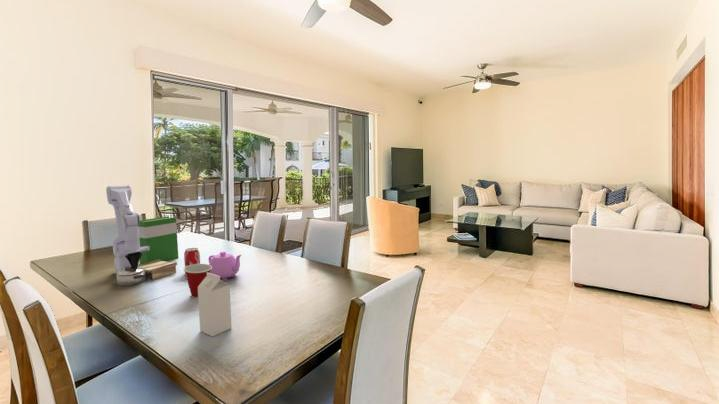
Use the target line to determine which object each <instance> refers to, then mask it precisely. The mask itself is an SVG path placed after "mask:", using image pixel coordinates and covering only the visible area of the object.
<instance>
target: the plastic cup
mask: <svg viewBox="0 0 719 404" xmlns="http://www.w3.org/2000/svg"><path fill="white" fill-rule="evenodd" d="M211 269H212V266H211V265H209V263H208V264H207V263H200V264H193V265H189V266H186V267H185V266H184V267H183V272H184V274H185V277H186V281H187V284H188V288H189V291H190V295H191V296H192V297H193V298H198V286H199V285H200V284H201V282H202V281H203V280H204V279H205V277H206V276H207V272H208V273H210V270H211Z"/></svg>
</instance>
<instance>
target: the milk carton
mask: <svg viewBox="0 0 719 404" xmlns="http://www.w3.org/2000/svg"><path fill="white" fill-rule="evenodd" d="M230 287H231V285H230V284H229V283H227V282H226V281H222V279H221V278H220V276H217V275H214V274H211V273H208V272H207V276H206V277H205V279H204V280H203V281H202V282H201V284H200V285H199V286H198V297H197V300H198V301H197V302H198V317H199V331H200V332H201V333H204V334H206V335H208V336H210V337H211V338H212V337H215V336H217V335H220V334H222V333H223V332H226V331H228V330H230V329H232V328H233V326H232V324H233V323H232V310H231V309H232V308H231V307H232V306H231V304H232V303H231V288H230Z"/></svg>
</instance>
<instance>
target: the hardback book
mask: <svg viewBox="0 0 719 404" xmlns="http://www.w3.org/2000/svg"><path fill="white" fill-rule="evenodd" d="M138 227H139V239H140V247H144V246H149V249H150V250H148V251H143V252H140V253H142V256H141V258H140V260H139V265H141V264H145V263H148V262H152V261H156V260H159V259H160V260H161V261H165V262H170V261H173V260H177V259H179V244H178V229H177V217H176V216H174V217H170V216H161V217H154V218H148V219H147V218H146V219H140V226H138Z"/></svg>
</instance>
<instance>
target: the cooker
mask: <svg viewBox="0 0 719 404" xmlns="http://www.w3.org/2000/svg"><path fill="white" fill-rule="evenodd" d="M115 275H116V284H117V286H118V287H119V286H120V287H129V286H135V285H139V284H142V283H144V282H145V281H146V277H147V274H145V270H144V271H143V272H141V273H138V274H134V275H126V276H121V275H117V273H116V274H115Z"/></svg>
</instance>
